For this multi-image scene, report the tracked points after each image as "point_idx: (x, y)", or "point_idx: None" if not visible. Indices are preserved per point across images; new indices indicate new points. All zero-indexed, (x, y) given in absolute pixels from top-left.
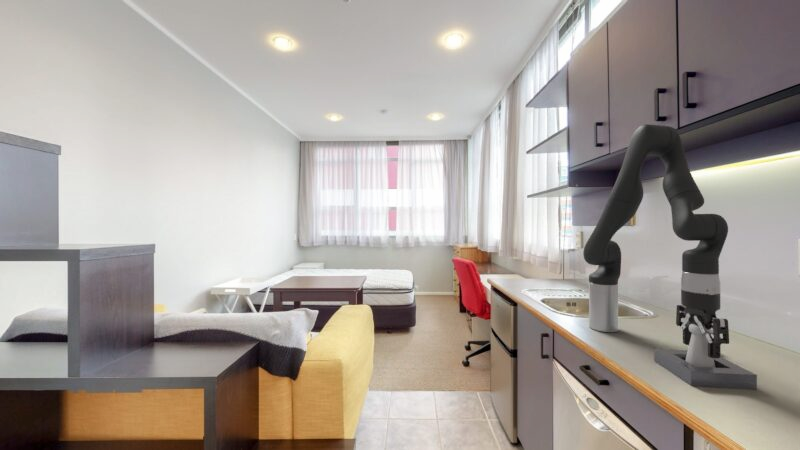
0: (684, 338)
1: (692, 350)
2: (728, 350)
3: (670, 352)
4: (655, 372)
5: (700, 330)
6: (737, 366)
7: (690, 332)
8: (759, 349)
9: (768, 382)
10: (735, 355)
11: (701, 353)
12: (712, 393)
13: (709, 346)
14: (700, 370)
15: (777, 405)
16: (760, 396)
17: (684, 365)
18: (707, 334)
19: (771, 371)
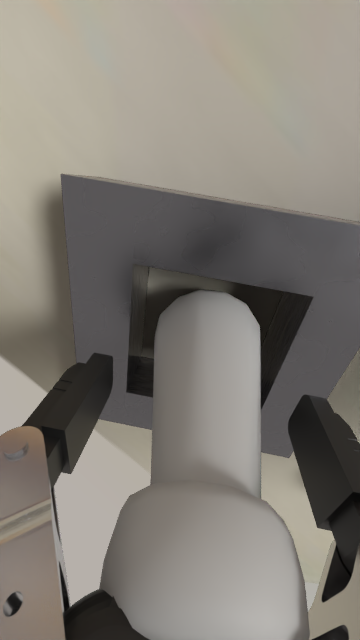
0: (325, 427)
1: (200, 347)
2: None
3: (334, 298)
4: (246, 93)
5: (119, 556)
6: (144, 422)
7: (325, 507)
8: (315, 558)
9: (147, 435)
10: (304, 505)
11: (162, 361)
12: (45, 216)
13: (61, 402)
14: (86, 249)
15: (16, 344)
16: (60, 351)
17: (146, 214)
18: (1, 514)
19: None
